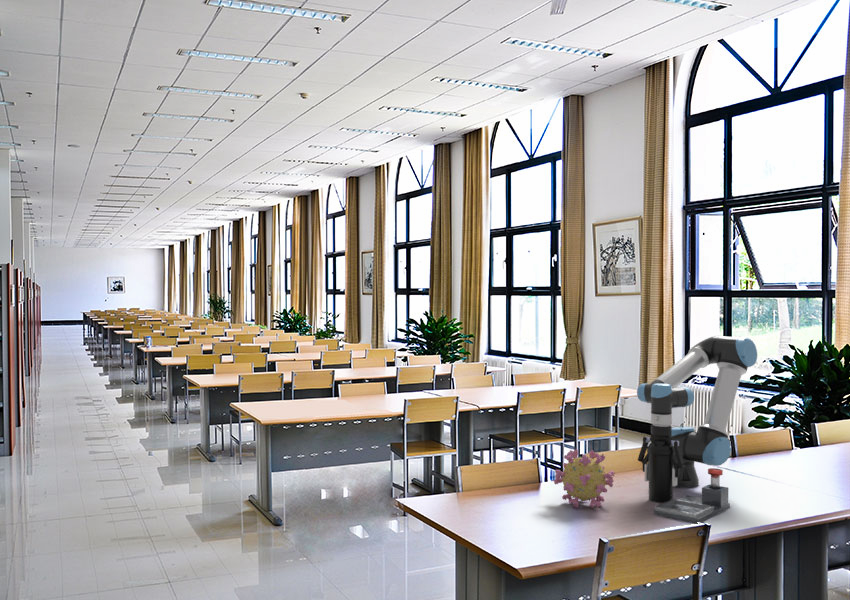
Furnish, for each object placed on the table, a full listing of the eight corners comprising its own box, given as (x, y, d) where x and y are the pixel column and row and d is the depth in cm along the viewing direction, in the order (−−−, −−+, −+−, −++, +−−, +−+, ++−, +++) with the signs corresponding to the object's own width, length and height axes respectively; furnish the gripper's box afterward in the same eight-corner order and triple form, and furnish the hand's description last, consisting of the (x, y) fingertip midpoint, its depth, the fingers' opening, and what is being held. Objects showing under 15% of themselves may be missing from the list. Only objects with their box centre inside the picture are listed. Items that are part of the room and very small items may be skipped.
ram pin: (705, 491, 278) (705, 469, 278) (711, 489, 282) (711, 467, 282) (719, 494, 275) (719, 472, 275) (724, 491, 279) (724, 469, 279)
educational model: (576, 494, 297) (577, 443, 297) (627, 505, 281) (628, 451, 281) (540, 505, 281) (540, 451, 281) (592, 518, 265) (593, 461, 265)
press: (654, 514, 270) (654, 493, 270) (687, 499, 291) (687, 479, 291) (698, 523, 259) (698, 501, 259) (729, 507, 280) (730, 486, 280)
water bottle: (676, 498, 292) (676, 438, 292) (672, 504, 283) (673, 442, 283) (648, 495, 296) (649, 436, 296) (644, 501, 287) (645, 440, 287)
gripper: (628, 422, 294) (628, 479, 294) (686, 429, 279) (685, 490, 279) (637, 420, 300) (637, 476, 300) (694, 427, 284) (694, 486, 285)
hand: (660, 483), depth 289 cm, fingers open, 10 cm apart
